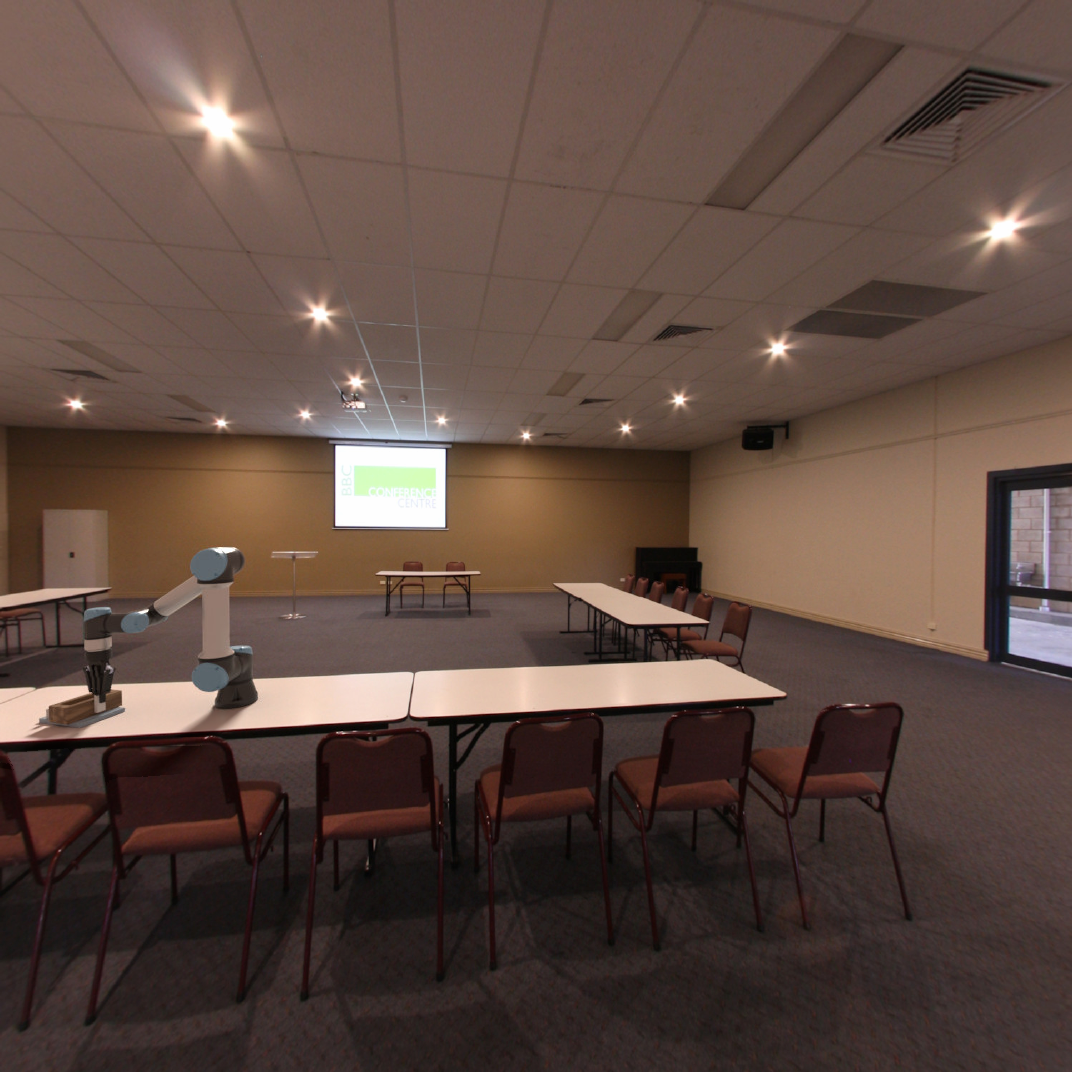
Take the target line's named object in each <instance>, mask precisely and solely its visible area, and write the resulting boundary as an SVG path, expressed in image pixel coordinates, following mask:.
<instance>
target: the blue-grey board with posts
mask: <svg viewBox="0 0 1072 1072" xmlns="http://www.w3.org/2000/svg"><path fill="white" fill-rule="evenodd" d="M45 712H46V713H45V716H42V717H40V718H38V722H39V723H40V724H49V725H56V726H62V727H69V728H78V729H79V728H80V729H81V728H83V727H86V726H89V725H91V724H95V723H97V722H100V721H102V720H106V719H108V718H111V717H113V716H117V715H120V714H123V713H124V712H126V708H125V707H123V706H122V707H121V706H119V707H116V708H114V709H111V710H108V711H105V712H102V713H99V714H97V715H94V716H91V717H88V718H85V719H82V720H80V721H77V722H74V723H71V724H68V725H67V724H59V723H51V722H49V708H46V709H45Z"/></svg>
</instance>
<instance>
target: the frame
mask: <svg viewBox="0 0 1072 1072" xmlns="http://www.w3.org/2000/svg"><path fill="white" fill-rule="evenodd" d="M105 704H106V710H104V711H101V712H98V713H96V712H95V704H94V695H93V694H92V692H91V693H89V692H88V693H86V694H83V695H79V696H76V697H74V698H70V699H67V700H63V701H61V702H57V703H54V704H51V705H49V706H48V709H49V722H51V723H59V724H67V725H68V724H71V723H74V722H77V721H80V720H82V719H85V718H88V717H91V716H94V715H97V714H99V713H102V712H105V711H108V710H111V709H114V708H116V707H121V706H122V707H123V690H119V689H112V688H111V691H110V692H107V693H106V702H105Z"/></svg>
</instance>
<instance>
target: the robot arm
mask: <svg viewBox="0 0 1072 1072" xmlns="http://www.w3.org/2000/svg"><path fill="white" fill-rule="evenodd" d="M245 565H246V556H245V554H244V553H243V551H242V550H240V549H239V548H236V547H234V546H221V547H208V548H205V549H201V550H200V551H198V552H196V554H194V555H193V557H192V559H190V563H189V569H190V573H191V574H192V575H193V576H191V577H190V578H188V579H186V580H185V581H184V582H182V583H181V584H179V585H178V586H176V587H174V588H173V589H171V590H170V591H168V593H166V594H164V595H162V596H161V597H160V598H158V599H157V600H155V601H154V602H152V603H150V605H148V606H146V607H143V608H140V609H139V608H138V609H135V610H132V611H128V612H113V610H112V609H111V607H109V606H102V607H101V606H99V607H92V608H87V609H86V610H84V613H83V621H82V622H83V631H84V639H83V640H84V644H83V645H84V647H83V648H84V651H85V652H84V661H85V662H87V666H83V667H82V671H83V673H84V675H85V676H84V677H85V681H86V686H87V690H88V694H89V693H92V694H93V695H94V704H95V712H96V713H98V712H101V711H104V710H106V704H105V702H106V693H107V692H110V691H111V689H112V686H113V685H112V684H113V680H114V674H115V672H116V667H112V666H111V663H110V659H111V658H113V648H112V646H113V642H112V641H113V640H112V638H113V637H112V635H113V634H134V633H135V634H136V633H142V632H144V631H145V630H146V629H147V628H149V627H151V626H152V627H153V626H155V625H159V624H161V623H163V622H166V621H167V620H168V618H169V616H170V615H172V614H174V613H175V612H176V611H178V610H179V609H181V608H182V607H184V606H185V605H187V604H189V603H190V602H192V601H193V600H194V599H196V598H197V597H199V596H200V595H202V596H201V597H202V598H201V601H202V603H201V606H202V607H201V608H202V615H201V616H202V651H201V652H199V654H198V655H197V665H196V666H195V668H194V669H193V670H192V673H191V677H190V678H191V682H192V685H194V686H195V688H197V689H198V690H200V691H202V692H205V693H214V692H217V693H216V697H215V699H214V707H215V708H216V709H236V708H241V707H244V706H248V705H251V704H253V703H255V702H256V701H258V699H259V692H258V690H257V688H256V685H255V683H254V679H253V676H254V675H253V672H254V670H253V669H254V668H253V667H254V665H253V663H254V662H253V659H254V658H253V657H254V653H253V648H252V646H250V645H234V646H233V645H232V646H231V644H230V639H231V638H230V633H231V632H230V630H231V629H230V627H231V626H230V620H231V619H230V587H231V586H232V584H234V583H235V581H234V580H235V579H234V578H235V576H236V575H237V574H238V573H241V571H242V570H243V569H244V567H245Z"/></svg>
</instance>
